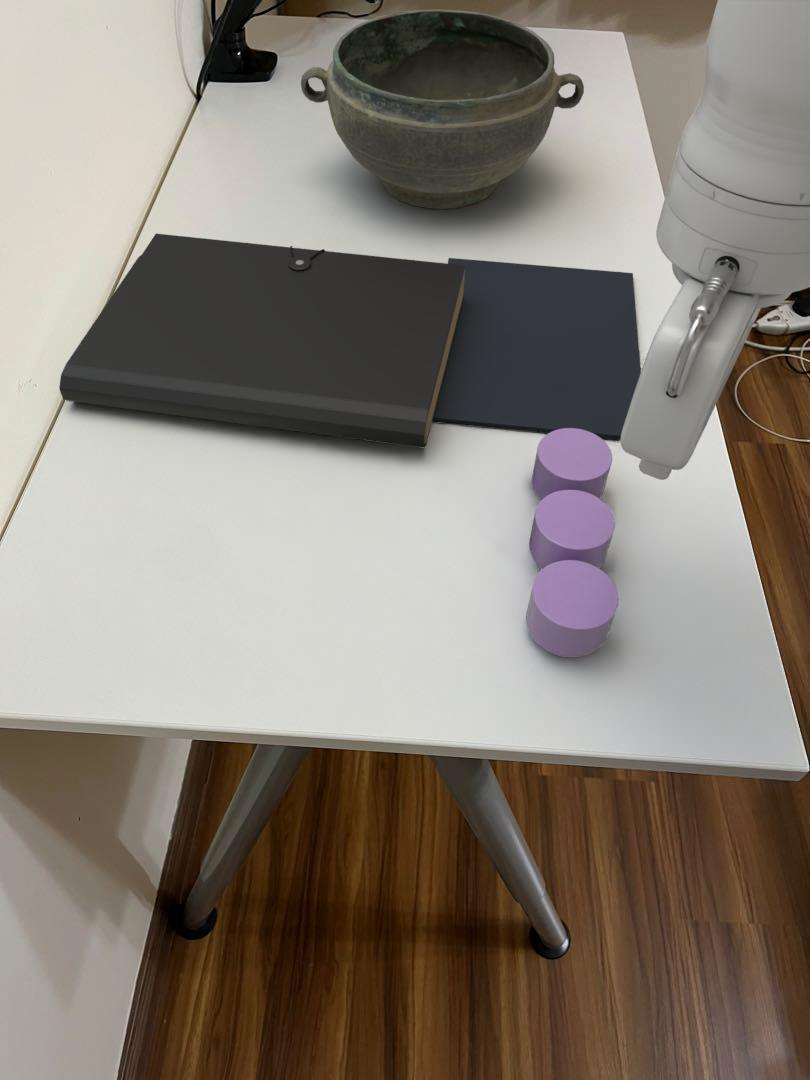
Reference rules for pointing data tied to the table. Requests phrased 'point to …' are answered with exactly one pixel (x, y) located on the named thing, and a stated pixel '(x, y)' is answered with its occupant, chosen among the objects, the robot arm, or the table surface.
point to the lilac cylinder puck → (571, 529)
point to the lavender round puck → (571, 608)
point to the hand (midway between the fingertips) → (679, 422)
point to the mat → (542, 350)
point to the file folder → (274, 339)
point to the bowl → (441, 101)
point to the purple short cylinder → (571, 463)
